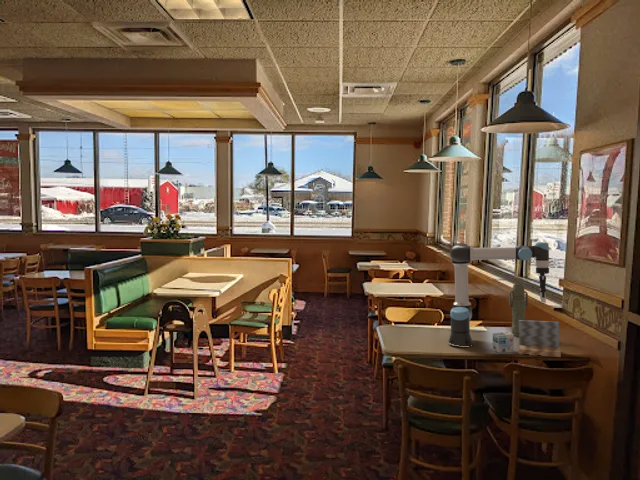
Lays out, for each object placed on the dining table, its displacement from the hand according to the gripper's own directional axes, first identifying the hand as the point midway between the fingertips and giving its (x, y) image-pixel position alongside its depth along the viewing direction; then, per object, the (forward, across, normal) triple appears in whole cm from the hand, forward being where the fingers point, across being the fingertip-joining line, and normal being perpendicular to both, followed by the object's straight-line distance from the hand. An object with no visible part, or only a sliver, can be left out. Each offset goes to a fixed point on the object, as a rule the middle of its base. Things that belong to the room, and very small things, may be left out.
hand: (542, 300), depth 300 cm
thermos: (+28, +19, +14) cm, 37 cm away
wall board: (+28, -19, +3) cm, 34 cm away
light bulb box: (+28, -20, +23) cm, 42 cm away
